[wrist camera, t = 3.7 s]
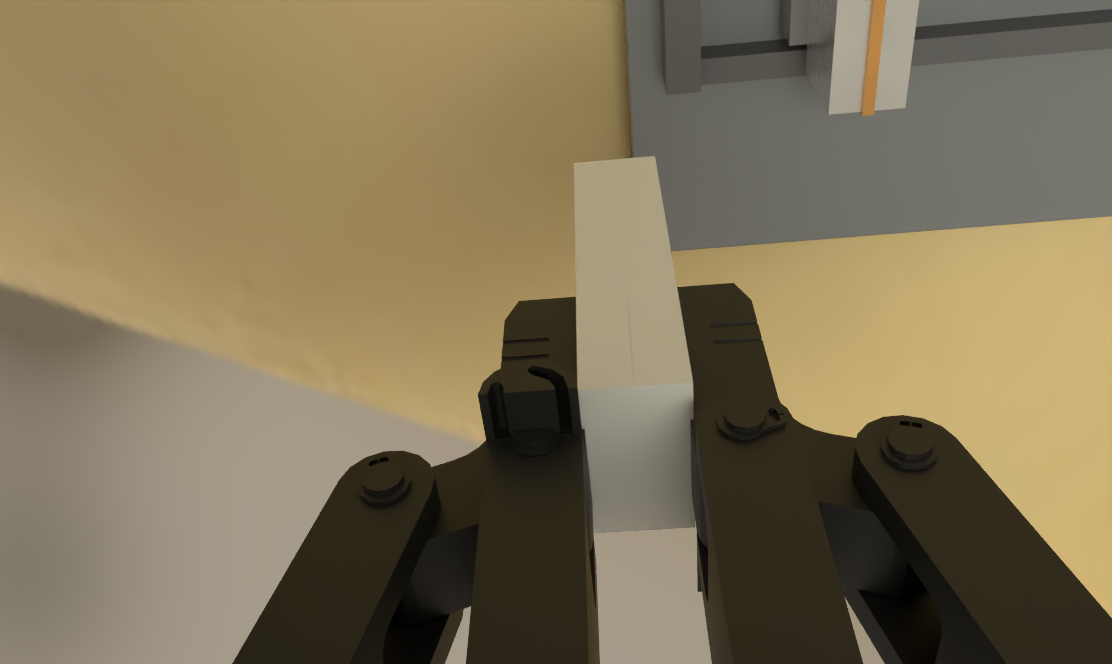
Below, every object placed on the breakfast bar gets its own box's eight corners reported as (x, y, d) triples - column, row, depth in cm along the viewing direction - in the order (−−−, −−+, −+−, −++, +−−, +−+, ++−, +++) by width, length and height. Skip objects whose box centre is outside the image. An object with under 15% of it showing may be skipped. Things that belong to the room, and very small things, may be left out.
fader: (778, 55, 29) (810, 120, 26) (785, -103, 27) (822, -56, 23) (878, 46, 29) (926, 110, 25) (896, -115, 26) (951, -69, 23)
